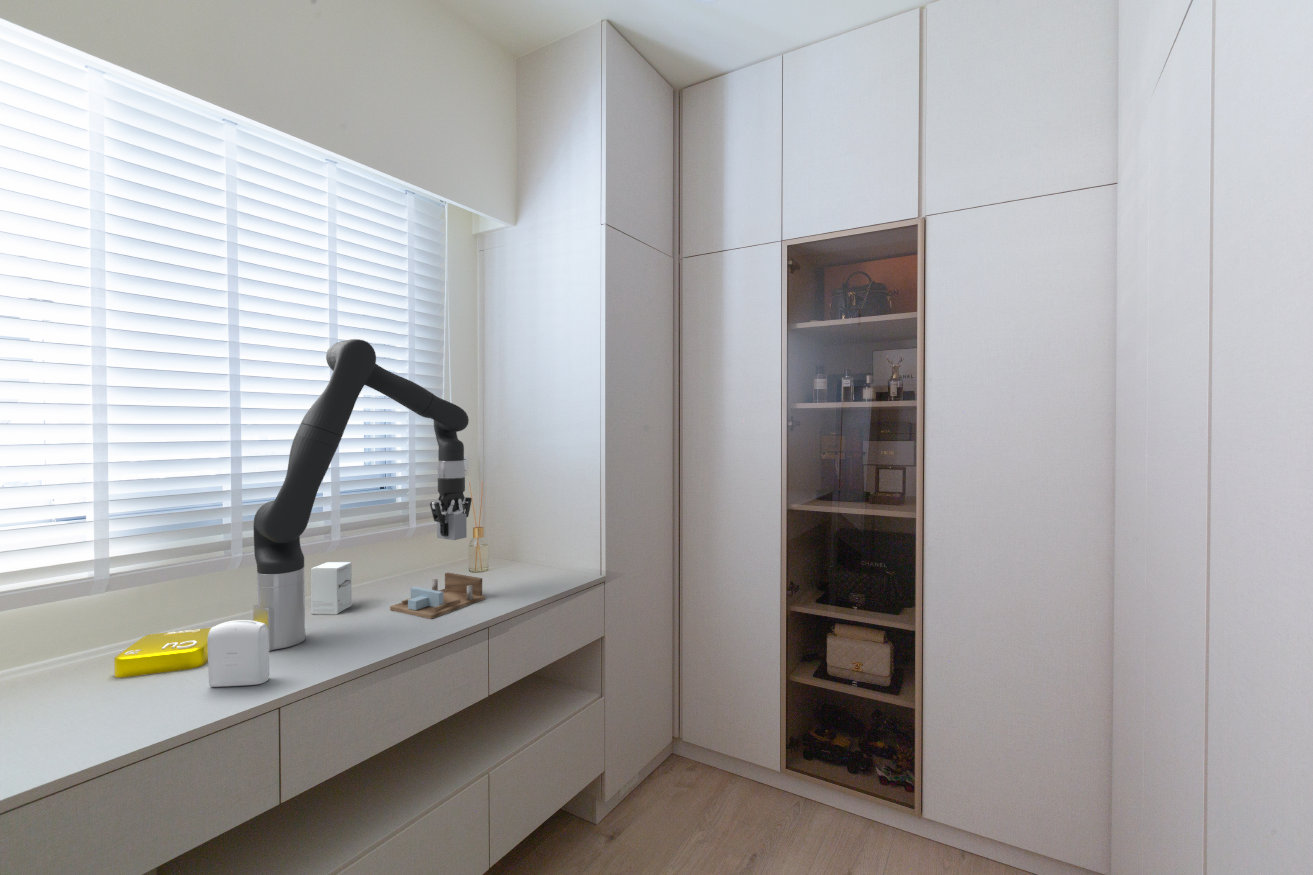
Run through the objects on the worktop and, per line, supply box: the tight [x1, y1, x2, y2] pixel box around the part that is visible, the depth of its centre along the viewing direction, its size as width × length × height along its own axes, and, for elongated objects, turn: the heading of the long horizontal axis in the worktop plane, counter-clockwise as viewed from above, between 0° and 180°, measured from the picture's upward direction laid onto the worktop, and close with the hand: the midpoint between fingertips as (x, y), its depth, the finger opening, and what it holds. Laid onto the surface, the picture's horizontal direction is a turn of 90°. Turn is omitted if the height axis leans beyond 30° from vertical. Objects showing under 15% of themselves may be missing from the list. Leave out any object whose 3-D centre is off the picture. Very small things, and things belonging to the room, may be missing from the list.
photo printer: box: [207, 619, 270, 688], centre depth 112 cm, size 10×4×12 cm, turn 96°
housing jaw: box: [408, 586, 443, 610], centre depth 155 cm, size 6×11×4 cm, turn 63°
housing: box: [389, 572, 486, 620], centre depth 161 cm, size 20×16×6 cm
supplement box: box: [310, 561, 353, 615], centre depth 156 cm, size 7×7×13 cm
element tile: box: [113, 627, 212, 679], centre depth 123 cm, size 15×15×5 cm
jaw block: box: [436, 510, 468, 541], centre depth 165 cm, size 4×7×8 cm, turn 63°
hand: (451, 534), depth 165 cm, fingers closed on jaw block, 4 cm apart
